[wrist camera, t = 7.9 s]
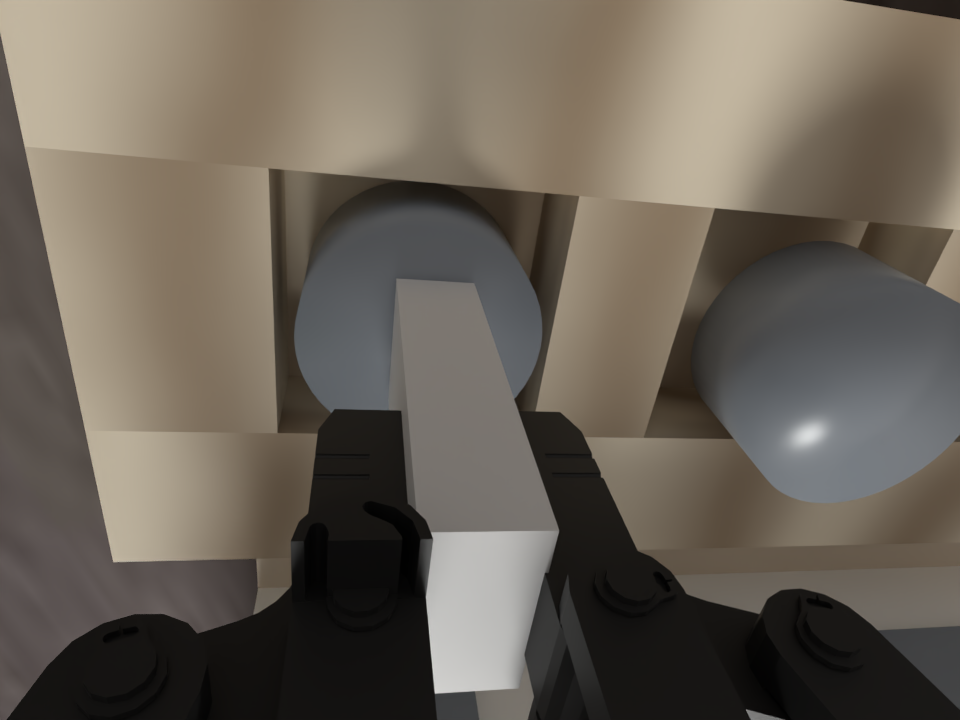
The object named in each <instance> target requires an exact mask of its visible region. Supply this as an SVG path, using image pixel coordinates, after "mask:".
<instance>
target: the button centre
mask: <svg viewBox="0 0 960 720" xmlns="http://www.w3.org/2000/svg"><path fill="white" fill-rule="evenodd" d="M691 372H692V377H693V382H694V384H695V387H696V390H697V392H698V393H699V395H700V397H701V398H702V400H703V401H704V402H705V403H706V405H707V406H708V407H709V408H710V410H711V411H712V412H713V413H714V415H715V416H716V417H717V418H718V420H719V421H720V422H721V423H722V425H723V426H724V427H725V428H726V429H727V431H728V432H729V433H730V434H731V436H732V437H733V438H734V439H735V441H736V442H737V443H738V444H739V446H740V447H741V448H742V449H743V451H744V452H745V453H746V454H747V455H748V457H749V458H750V459H751V460H752V462H753V463H754V464H755V465H756V467H757V468H758V469H759V470H760V472H761V473H762V474H763V475H764V477H765V478H766V479H767V480H768V481H769V482H770V483H771V485H772V486H774V487H775V488H776V489H777V490H779V491H780V492H782V493H784V494H785V495H787V496H789V497H792V498H795V499H798V500H801V501H806V502H812V503H838V502H845V501H851V500H855V499H859V498H863V497H866V496H869V495H872V494H875V493H878V492H881V491H883V490H885V489H887V488H889V487H892V486H894V485H896V484H898V483H900V482H901V481H903V480H905V479H907V478H909V477H910V476H912V475H913V474H915V473H916V472H918V471H920V470H921V469H922V468H924V467H925V466H926V465H928V464H929V463H930V462H932V461H933V460H934V459H936V458H937V457H938V456H939V455H940V454H941V453H942V452H943V451H945V450H946V449H947V448H948V447H949V446H950V445H951V444H952V443H953V442H954V441H955V439H956V438H957V437H958V436H959V435H960V303H958V302H956V301H954V300H953V299H951V298H949V297H947V296H945V295H943V294H941V293H939V292H938V291H936V290H934V289H932V288H930V287H928V286H926V285H925V284H923V283H921V282H919V281H917V280H915V279H913V278H912V277H910V276H908V275H906V274H904V273H902V272H900V271H898V270H897V269H895V268H893V267H891V266H889V265H887V264H885V263H884V262H882V261H880V260H878V259H876V258H874V257H872V256H871V255H869V254H867V253H865V252H863V251H861V250H859V249H858V248H856V247H854V246H851V245H848V244H844V243H840V242H834V241H812V242H804V243H800V244H796V245H792V246H788V247H786V248H783V249H780V250H778V251H775V252H773V253H771V254H769V255H767V256H765V257H763V258H761V259H760V260H758V261H757V262H755V263H753V264H752V265H750V266H749V267H747V268H746V269H745V270H744V271H742V272H741V273H740V274H738V275H737V276H736V277H735V278H734V279H733V280H732V281H731V282H730V283H729V284H728V285H727V286H726V287H725V288H724V289H723V290H722V291H721V292H720V294H719V295H718V296H717V297H716V298H715V300H714V301H713V303H712V304H711V305H710V307H709V308H708V310H707V311H706V313H705V315H704V317H703V319H702V321H701V323H700V325H699V328H698V330H697V333H696V335H695V339H694V343H693V347H692V354H691Z"/></svg>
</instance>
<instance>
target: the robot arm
mask: <svg viewBox="0 0 960 720" xmlns="http://www.w3.org/2000/svg"><path fill="white" fill-rule="evenodd" d="M388 404H389V410H356V409H334V411H333V412H332V413H331V414H330V415H329V417H328V418H327V419H326V420H325V422H324V423H323V424H322V425H321V426H320V428H319V429H318V434H317V443H316V451H315V460H314V468H313V479H312V485H311V493H310V501H309V510H308V514H307V515H306V516H304V517H303V518H302V519H301V520H300V521H299V522H298V525H297V527H296V530H295V532H294V534H293V537H292V539H291V581H292V585H291V586H290V588H289V589H288V590H287V591H286V592H285V593H284V594H283V595H282V596H281V597H280V598H279V599H278V600H277V601H276V602H274V603H273V604H271V605H269V606H268V607H266V608H265V609H263V610H262V611H260V612H259V613H256V614H254V615H252V616H249V617H247V618H244V619H242V620H240V621H237V622H234V623H230V624H227V625H224V626H221V627H218V628H214V629H211V630H208V631H205V632H202V633H198V634H197V633H196V632H195V631H194V630H193V628H192V627H191V626H190V625H189V624H188V623H186V622H183V621H181V620H178V619H175V618H173V617H170V616H167V615H165V614H134V615H131V616H127V617H124V618H120V619H117V620H113V621H110V622H107V623H103V624H101V625H100V626H98V627H96V628H94V629H93V630H91V631H89V632H88V633H86V634H84V635H82V636H81V637H79V638H77V639H75V640H74V641H72V642H71V643H70V644H69V645H68V646H67V647H66V648H65V649H64V650H63V651H62V652H61V653H60V654H59V655H58V656H57V657H56V658H55V659H54V660H53V661H52V662H51V663H50V664H49V665H48V666H47V667H46V669H45V670H44V671H43V673H42V674H41V675H40V677H39V678H38V679H37V680H36V682H35V683H34V684H33V686H32V687H31V688H30V690H29V691H28V692H27V694H26V695H25V696H24V698H23V699H22V700H21V702H20V703H19V704H18V706H17V707H16V708H15V709H14V711H13V712H12V713H11V715H10V716H9V717H8V719H7V720H437V712H436V701H435V694H436V693H452V692H469V691H485V690H501V689H517V688H519V687H520V683H521V679H522V675H523V671H524V667H525V663H526V664H527V669H528V673H529V677H530V682H531V686H532V690H533V695H534V698H533V702H532V705H531V709H530V713H529V716H528V720H960V709H959V708H958V707H957V706H956V705H954V704H953V703H952V702H951V701H950V700H949V699H948V698H947V697H946V696H945V695H944V694H943V693H942V692H941V691H940V690H939V689H938V688H937V687H936V686H935V685H934V684H933V683H932V682H931V681H930V680H929V679H928V678H926V677H925V676H924V675H923V674H922V673H921V672H920V671H919V670H918V669H917V668H916V667H915V666H914V665H913V664H912V663H911V662H910V661H909V660H908V659H907V658H906V657H905V656H904V655H903V654H902V653H901V652H900V651H898V650H897V649H896V648H895V647H894V646H893V645H892V644H891V643H890V642H889V641H888V640H887V639H886V638H885V637H884V636H883V635H882V634H881V633H880V632H879V631H878V630H877V629H876V628H875V627H874V626H873V625H872V624H870V623H869V622H868V621H867V620H865V619H864V618H863V617H861V616H860V615H859V614H858V613H856V612H855V611H854V610H853V609H851V608H850V607H849V606H847V605H845V604H843V603H841V602H839V601H837V600H835V599H833V598H831V597H829V596H827V595H825V594H821V593H817V592H813V591H809V590H805V589H787V590H780V591H779V592H777V593H775V594H774V595H772V596H771V597H769V598H768V599H767V601H766V603H765V604H764V606H763V608H762V610H761V612H760V614H758V613H754V612H750V611H746V610H741V609H737V608H733V607H729V606H725V605H721V604H717V603H713V602H709V601H706V600H703V599H700V598H697V597H694V596H691V595H688V594H686V592H685V590H684V588H683V587H682V586H681V584H680V583H679V582H678V580H677V579H676V578H675V576H674V575H673V574H672V572H671V571H670V570H669V569H667V568H666V567H665V566H663V565H662V564H661V563H659V562H658V561H657V560H655V559H654V558H653V557H651V556H649V555H646V554H644V553H641V552H639V551H638V550H637V548H636V546H635V544H634V542H633V540H632V538H631V536H630V533H629V531H628V529H627V527H626V525H625V523H624V521H623V518H622V516H621V514H620V512H619V510H618V508H617V506H616V504H615V501H614V499H613V497H612V495H611V493H610V491H609V489H608V487H607V484H606V482H605V480H604V478H601V472H600V470H599V467H598V465H597V463H596V461H595V459H592V452H591V450H590V448H589V446H588V444H587V442H586V440H585V438H584V435H583V433H582V431H581V430H579V429H578V428H577V427H576V426H575V425H574V424H573V423H572V422H571V421H570V420H569V419H567V418H566V417H565V416H564V415H563V414H562V413H561V412H542V411H518V409H517V406H516V403H515V400H514V397H513V394H512V392H511V389H510V386H509V383H508V380H507V377H506V374H505V371H504V368H503V365H502V362H501V360H500V357H499V354H498V351H497V348H496V345H495V342H494V339H493V336H492V333H491V330H490V328H489V325H488V322H487V319H486V316H485V313H484V310H483V307H482V304H481V301H480V299H479V296H478V293H477V290H476V287H475V284H474V283H463V282H447V281H430V280H414V279H398V278H396V293H395V308H394V322H393V337H392V352H391V366H390V381H389V396H388Z"/></svg>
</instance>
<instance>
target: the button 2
mask: <svg viewBox="0 0 960 720" xmlns="http://www.w3.org/2000/svg"><path fill="white" fill-rule="evenodd" d="M396 278H398V279H414V280H430V281H447V282H463V283H474V284H475V287H476V290H477V293H478V296H479V299H480V301H481V304H482V307H483V310H484V313H485V316H486V319H487V322H488V325H489V328H490V330H491V333H492V336H493V339H494V342H495V345H496V348H497V351H498V354H499V357H500V360H501V362H502V365H503V368H504V371H505V374H506V377H507V380H508V383H509V386H510V389H511V392H512V394H513V397H514V399H515V398H516V396H517V395H518V394H519V392H520V391H521V390H522V389H523V387H524V386H525V384H526V383H527V381H528V379H529V377H530V376H531V374H532V372H533V369H534V367H535V365H536V362H537V359H538V355H539V352H540V348H541V340H542V317H541V311H540V305H539V302H538V299H537V296H536V293H535V291H534V289H533V287H532V285H531V283H530V281H529V279H528V277H527V275H526V273H525V271H524V270H523V268H522V266H521V264H520V262H519V261H518V259H517V257H516V255H515V253H514V251H513V250H512V248H511V246H510V244H509V242H508V240H507V239H506V237H505V235H504V233H503V231H502V229H501V228H500V227H499V225H498V224H497V222H496V221H495V219H494V218H493V217H492V216H491V215H490V214H489V213H488V212H487V210H486V209H485V208H483V207H482V206H481V205H480V204H478V203H477V202H476V201H475V200H473V199H472V198H470V197H468V196H467V195H465V194H464V193H462V192H459V191H457V190H455V189H453V188H451V187H448V186H444V185H441V184H437V183H428V182H417V181H397V182H390V183H386V184H382V185H378V186H375V187H373V188H370V189H368V190H365V191H363V192H361V193H359V194H358V195H356V196H354V197H352V198H351V199H349V200H348V201H347V202H345V203H344V204H343V205H341V206H340V207H339V208H338V209H337V210H336V211H335V212H334V213H333V214H332V215H331V216H330V217H329V219H328V220H327V221H326V222H325V224H324V225H323V226H322V228H321V230H320V231H319V233H318V235H317V237H316V239H315V241H314V244H313V246H312V249H311V252H310V256H309V261H308V265H307V270H306V274H305V279H304V284H303V288H302V293H301V297H300V302H299V307H298V311H297V316H296V320H295V331H294V342H295V352H296V356H297V360H298V364H299V368H300V370H301V372H302V375H303V377H304V380H305V381H306V383H307V385H308V386H309V388H310V390H311V391H312V393H313V394H314V395H315V396H316V398H317V399H318V400H319V401H320V403H321V404H322V405H323V406H324V407H325V408H327V409H328V410H329V411H330V412H331V413H332V412H333V411H334V409H356V410H389V404H388V396H389V381H390V366H391V352H392V337H393V322H394V308H395V293H396Z"/></svg>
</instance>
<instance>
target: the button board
mask: <svg viewBox="0 0 960 720" xmlns="http://www.w3.org/2000/svg"><path fill="white" fill-rule="evenodd" d="M0 33H1V38H2V43H3V47H4V52H5V57H6V62H7V66H8V71H9V76H10V80H11V85H12V90H13V94H14V99H15V104H16V108H17V113H18V118H19V122H20V127H21V132H22V137H23V141H24V146H25V151H26V155H27V160H28V165H29V169H30V174H31V179H32V183H33V188H34V193H35V197H36V202H37V207H38V211H39V216H40V221H41V226H42V230H43V235H44V240H45V244H46V249H47V254H48V258H49V263H50V268H51V272H52V277H53V282H54V286H55V291H56V296H57V301H58V305H59V310H60V315H61V319H62V324H63V329H64V333H65V338H66V343H67V347H68V352H69V357H70V361H71V366H72V371H73V375H74V380H75V385H76V390H77V394H78V399H79V404H80V408H81V413H82V418H83V422H84V427H85V432H86V436H87V441H88V446H89V450H90V455H91V460H92V464H93V469H94V474H95V479H96V483H97V488H98V493H99V497H100V502H101V507H102V511H103V516H104V521H105V525H106V530H107V535H108V539H109V544H110V549H111V554H112V558H113V562H139V561H183V560H226V559H269V558H291V539H292V537H293V534H294V532H295V530H296V527H297V525H298V522H299V521H300V520H301V519H302V518H303V517H304V516H306V515H307V514H308V510H309V501H310V493H311V485H312V479H313V468H314V460H315V451H316V443H317V434H318V429H319V428H320V426H321V425H322V424H323V423H324V422H325V420H326V419H327V418H328V417H329V415H330V414H331V412H330V411H329V410H328V409H327V408H325V407H324V406H323V405H322V404H321V403H320V401H319V400H318V399H317V398H316V396H315V395H314V394H313V393H312V391H311V390H310V388H309V386H308V385H307V383H306V381H305V380H304V377H303V375H302V372H301V370H300V368H299V364H298V360H297V356H296V352H295V342H294V331H295V320H296V316H297V311H298V307H299V302H300V297H301V293H302V288H303V284H304V279H305V274H306V270H307V265H308V261H309V256H310V252H311V249H312V246H313V244H314V241H315V239H316V237H317V235H318V233H319V231H320V230H321V228H322V226H323V225H324V224H325V222H326V221H327V220H328V219H329V217H330V216H331V215H332V214H333V213H334V212H335V211H336V210H337V209H338V208H339V207H340V206H341V205H343V204H344V203H345V202H347V201H348V200H349V199H351V198H352V197H354V196H356V195H358V194H359V193H361V192H363V191H365V190H368V189H370V188H373V187H375V186H378V185H382V184H386V183H390V182H397V181H417V182H428V183H437V184H441V185H444V186H448V187H451V188H453V189H455V190H457V191H459V192H462V193H464V194H465V195H467V196H468V197H470V198H472V199H473V200H475V201H476V202H477V203H478V204H480V205H481V206H482V207H483V208H485V209H486V210H487V212H488V213H489V214H490V215H491V216H492V217H493V218H494V219H495V221H496V222H497V224H498V225H499V227H500V228H501V229H502V231H503V233H504V235H505V237H506V239H507V240H508V242H509V244H510V246H511V248H512V250H513V251H514V253H515V255H516V257H517V259H518V261H519V262H520V264H521V266H522V268H523V270H524V271H525V273H526V275H527V277H528V279H529V281H530V283H531V285H532V287H533V289H534V291H535V293H536V296H537V299H538V302H539V305H540V311H541V317H542V340H541V348H540V352H539V355H538V359H537V362H536V365H535V367H534V369H533V372H532V374H531V376H530V377H529V379H528V381H527V383H526V384H525V386H524V387H523V389H522V390H521V391H520V392H519V394H518V395H517V396H516V398H515V399H514V400H515V403H516V406H517V409H518V411H542V412H561V413H562V414H563V415H564V416H565V417H566V418H567V419H569V420H570V421H571V422H572V423H573V424H574V425H575V426H576V427H577V428H578V429H579V430H581V431H582V433H583V435H584V438H585V440H586V442H587V444H588V446H589V448H590V450H591V452H592V459H595V461H596V463H597V465H598V467H599V470H600V472H601V478H604V480H605V482H606V484H607V487H608V489H609V491H610V493H611V495H612V497H613V499H614V501H615V504H616V506H617V508H618V510H619V512H620V514H621V516H622V518H623V521H624V523H625V525H626V527H627V529H628V531H629V533H630V536H631V538H632V540H633V542H634V544H635V546H636V548H637V550H656V549H699V548H742V547H785V546H828V545H871V544H914V543H957V542H960V435H959V436H958V437H957V438H956V439H955V441H954V442H953V443H952V444H951V445H950V446H949V447H948V448H947V449H946V450H945V451H943V452H942V453H941V454H940V455H939V456H938V457H937V458H936V459H934V460H933V461H932V462H930V463H929V464H928V465H926V466H925V467H924V468H922V469H921V470H920V471H918V472H916V473H915V474H913V475H912V476H910V477H909V478H907V479H905V480H903V481H901V482H900V483H898V484H896V485H894V486H892V487H889V488H887V489H885V490H883V491H881V492H878V493H875V494H872V495H869V496H866V497H863V498H859V499H855V500H851V501H845V502H838V503H812V502H806V501H801V500H798V499H795V498H792V497H789V496H787V495H785V494H784V493H782V492H780V491H779V490H777V489H776V488H775V487H774V486H772V485H771V483H770V482H769V481H768V480H767V479H766V478H765V477H764V475H763V474H762V473H761V472H760V470H759V469H758V468H757V467H756V465H755V464H754V463H753V462H752V460H751V459H750V458H749V457H748V455H747V454H746V453H745V452H744V451H743V449H742V448H741V447H740V446H739V444H738V443H737V442H736V441H735V439H734V438H733V437H732V436H731V434H730V433H729V432H728V431H727V429H726V428H725V427H724V426H723V425H722V423H721V422H720V421H719V420H718V418H717V417H716V416H715V415H714V413H713V412H712V411H711V410H710V408H709V407H708V406H707V405H706V403H705V402H704V401H703V400H702V398H701V397H700V395H699V393H698V392H697V390H696V387H695V384H694V382H693V377H692V372H691V354H692V347H693V343H694V339H695V335H696V333H697V330H698V328H699V325H700V323H701V321H702V319H703V317H704V315H705V313H706V311H707V310H708V308H709V307H710V305H711V304H712V303H713V301H714V300H715V298H716V297H717V296H718V295H719V294H720V292H721V291H722V290H723V289H724V288H725V287H726V286H727V285H728V284H729V283H730V282H731V281H732V280H733V279H734V278H735V277H736V276H737V275H738V274H740V273H741V272H742V271H744V270H745V269H746V268H747V267H749V266H750V265H752V264H753V263H755V262H757V261H758V260H760V259H761V258H763V257H765V256H767V255H769V254H771V253H773V252H775V251H778V250H780V249H783V248H786V247H788V246H792V245H796V244H800V243H804V242H812V241H834V242H840V243H844V244H848V245H851V246H854V247H856V248H858V249H859V250H861V251H863V252H865V253H867V254H869V255H871V256H872V257H874V258H876V259H878V260H880V261H882V262H884V263H885V264H887V265H889V266H891V267H893V268H895V269H897V270H898V271H900V272H902V273H904V274H906V275H908V276H910V277H912V278H913V279H915V280H917V281H919V282H921V283H923V284H925V285H926V286H928V287H930V288H932V289H934V290H936V291H938V292H939V293H941V294H943V295H945V296H947V297H949V298H951V299H953V300H954V301H956V302H958V303H960V19H953V18H947V17H941V16H935V15H929V14H923V13H917V12H911V11H905V10H899V9H893V8H887V7H881V6H875V5H869V4H863V3H856V2H850V1H844V0H0Z"/></svg>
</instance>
